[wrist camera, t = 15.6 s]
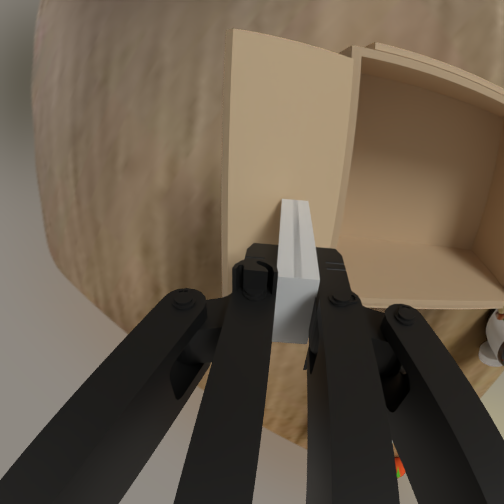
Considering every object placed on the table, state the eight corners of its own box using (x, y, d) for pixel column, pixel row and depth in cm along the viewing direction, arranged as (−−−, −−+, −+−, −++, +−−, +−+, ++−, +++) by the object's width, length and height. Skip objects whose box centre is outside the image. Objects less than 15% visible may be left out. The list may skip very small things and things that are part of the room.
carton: (306, 240, 32) (315, 307, 23) (325, 56, 23) (352, 36, 13) (469, 255, 31) (511, 309, 22) (504, 109, 22) (570, 130, 12)
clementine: (383, 456, 63) (386, 477, 57) (407, 450, 61) (411, 471, 55) (382, 464, 66) (384, 484, 60) (404, 458, 65) (407, 478, 59)
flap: (320, 297, 21) (314, 294, 22) (353, 58, 13) (346, 58, 14) (228, 348, 17) (223, 343, 17) (233, 28, 9) (225, 30, 9)
